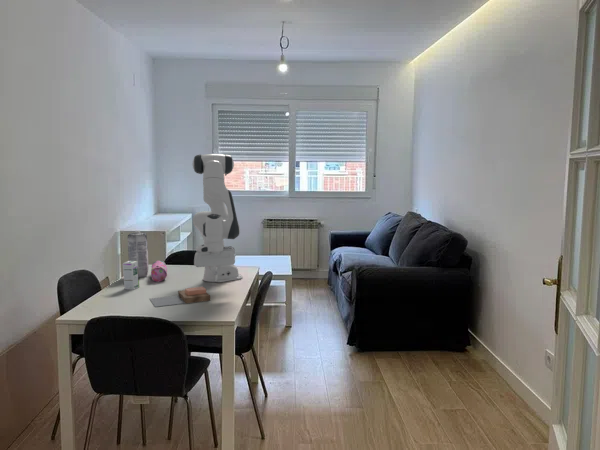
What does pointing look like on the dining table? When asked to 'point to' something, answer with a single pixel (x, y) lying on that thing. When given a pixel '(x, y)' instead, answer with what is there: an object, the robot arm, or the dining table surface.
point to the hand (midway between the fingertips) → (214, 274)
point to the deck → (193, 297)
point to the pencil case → (158, 271)
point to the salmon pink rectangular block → (195, 290)
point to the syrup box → (131, 275)
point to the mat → (167, 301)
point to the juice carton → (138, 251)
